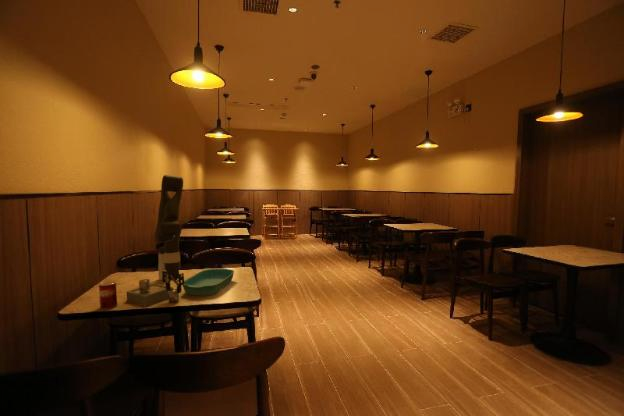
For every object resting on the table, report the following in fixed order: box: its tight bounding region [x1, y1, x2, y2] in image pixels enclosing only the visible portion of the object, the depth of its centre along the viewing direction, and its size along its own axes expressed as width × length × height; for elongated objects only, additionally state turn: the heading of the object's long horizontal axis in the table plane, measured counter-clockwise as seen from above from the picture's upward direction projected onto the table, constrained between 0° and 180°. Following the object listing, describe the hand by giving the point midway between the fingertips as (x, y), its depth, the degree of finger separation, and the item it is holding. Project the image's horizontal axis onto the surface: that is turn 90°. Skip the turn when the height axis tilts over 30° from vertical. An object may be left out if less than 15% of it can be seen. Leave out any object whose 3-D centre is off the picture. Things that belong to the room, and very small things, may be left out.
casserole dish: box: [181, 267, 235, 297], centre depth 186 cm, size 37×22×7 cm, turn 173°
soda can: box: [98, 280, 118, 310], centre depth 158 cm, size 7×7×12 cm
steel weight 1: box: [138, 278, 151, 293], centre depth 166 cm, size 5×5×6 cm
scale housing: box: [125, 283, 174, 307], centre depth 169 cm, size 16×16×5 cm
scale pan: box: [133, 285, 166, 295], centre depth 169 cm, size 12×12×2 cm
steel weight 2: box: [167, 288, 180, 304], centre depth 164 cm, size 5×5×6 cm
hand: (173, 291), depth 163 cm, fingers open, 8 cm apart
